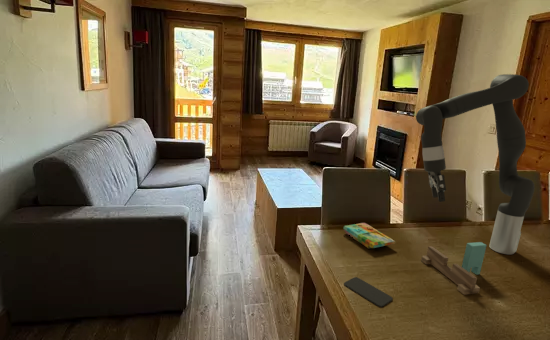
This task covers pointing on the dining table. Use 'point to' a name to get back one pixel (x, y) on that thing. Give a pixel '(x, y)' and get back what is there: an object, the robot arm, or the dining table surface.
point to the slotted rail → (452, 271)
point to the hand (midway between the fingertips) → (438, 199)
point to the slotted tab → (474, 257)
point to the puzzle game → (368, 235)
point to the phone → (368, 292)
